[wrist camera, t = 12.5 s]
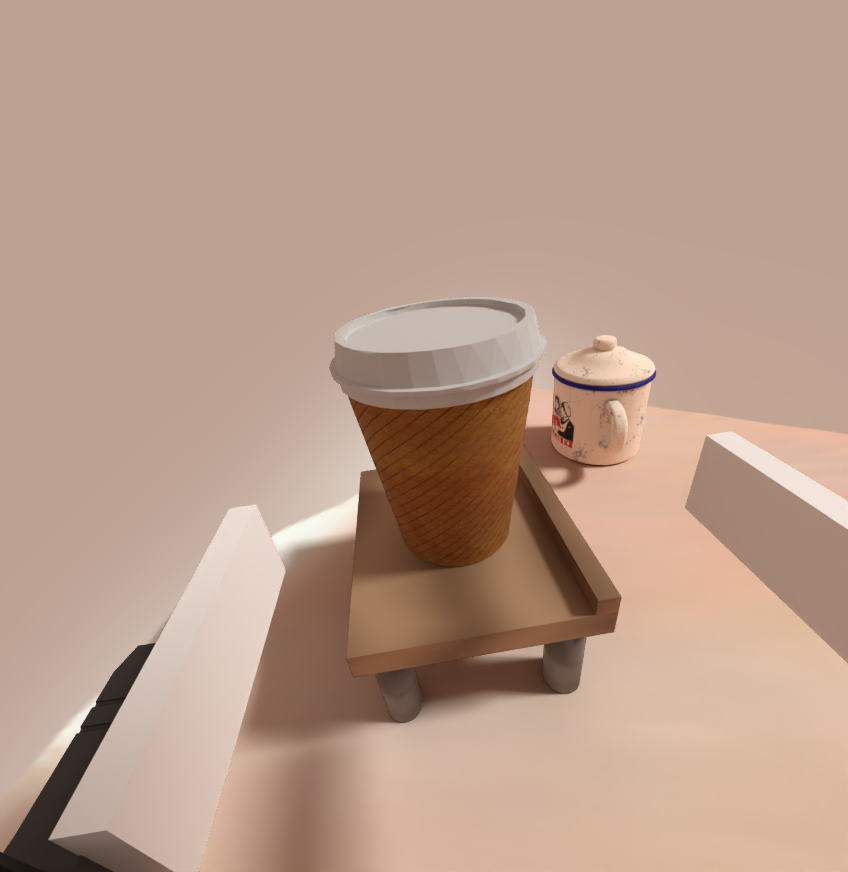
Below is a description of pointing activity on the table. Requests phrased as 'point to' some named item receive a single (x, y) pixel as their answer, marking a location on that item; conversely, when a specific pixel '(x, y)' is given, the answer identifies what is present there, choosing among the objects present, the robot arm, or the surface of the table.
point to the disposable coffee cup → (444, 415)
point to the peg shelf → (474, 595)
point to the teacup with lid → (600, 402)
